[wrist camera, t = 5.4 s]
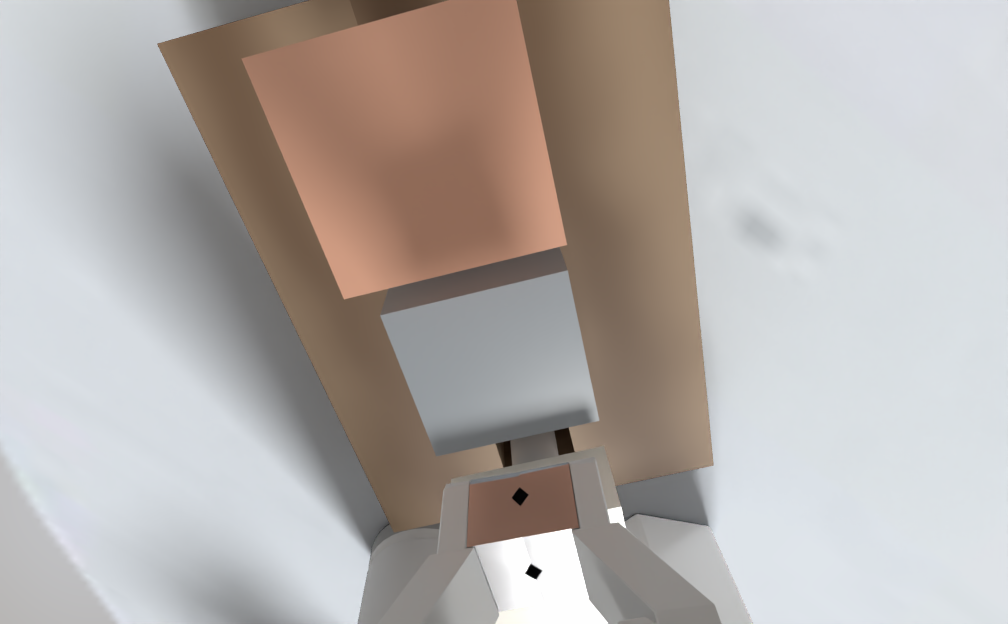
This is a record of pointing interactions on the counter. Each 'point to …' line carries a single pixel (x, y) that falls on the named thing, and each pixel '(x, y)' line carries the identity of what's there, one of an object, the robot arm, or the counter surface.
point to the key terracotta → (414, 143)
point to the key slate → (492, 352)
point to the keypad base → (588, 254)
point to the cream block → (579, 617)
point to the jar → (693, 561)
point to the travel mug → (394, 567)
